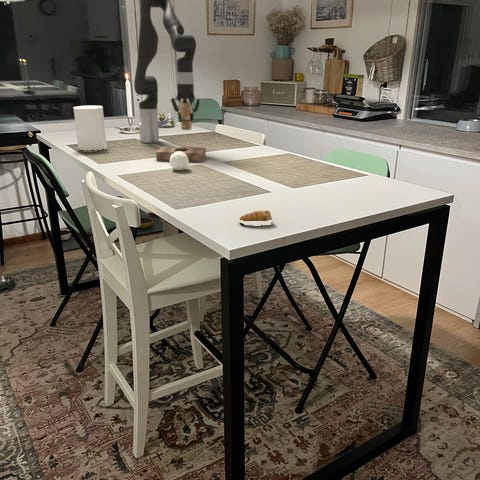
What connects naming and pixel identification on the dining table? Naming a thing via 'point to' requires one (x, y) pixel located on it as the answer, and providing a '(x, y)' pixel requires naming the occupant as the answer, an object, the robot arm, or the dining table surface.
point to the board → (191, 152)
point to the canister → (90, 127)
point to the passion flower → (164, 119)
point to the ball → (179, 160)
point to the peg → (185, 117)
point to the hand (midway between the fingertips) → (186, 120)
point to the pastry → (257, 216)
